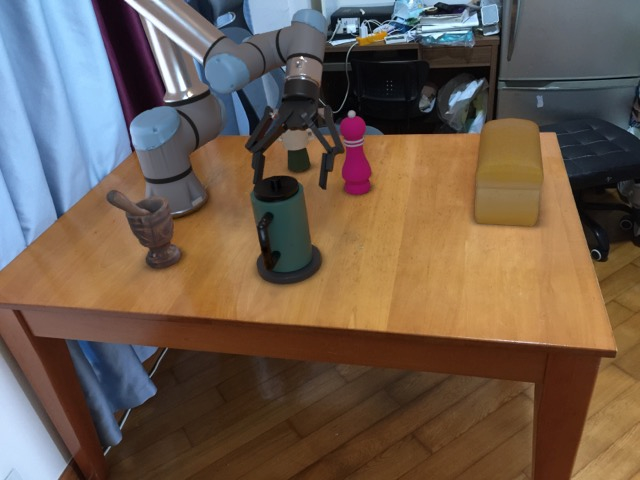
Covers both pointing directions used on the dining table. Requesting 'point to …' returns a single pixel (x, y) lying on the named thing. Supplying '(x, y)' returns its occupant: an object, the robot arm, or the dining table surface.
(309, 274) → the kettle base
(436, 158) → the dining table surface
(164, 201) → the mortar and pestle
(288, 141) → the character mug
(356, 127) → the pepper mill
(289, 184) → the kettle
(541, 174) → the bread
